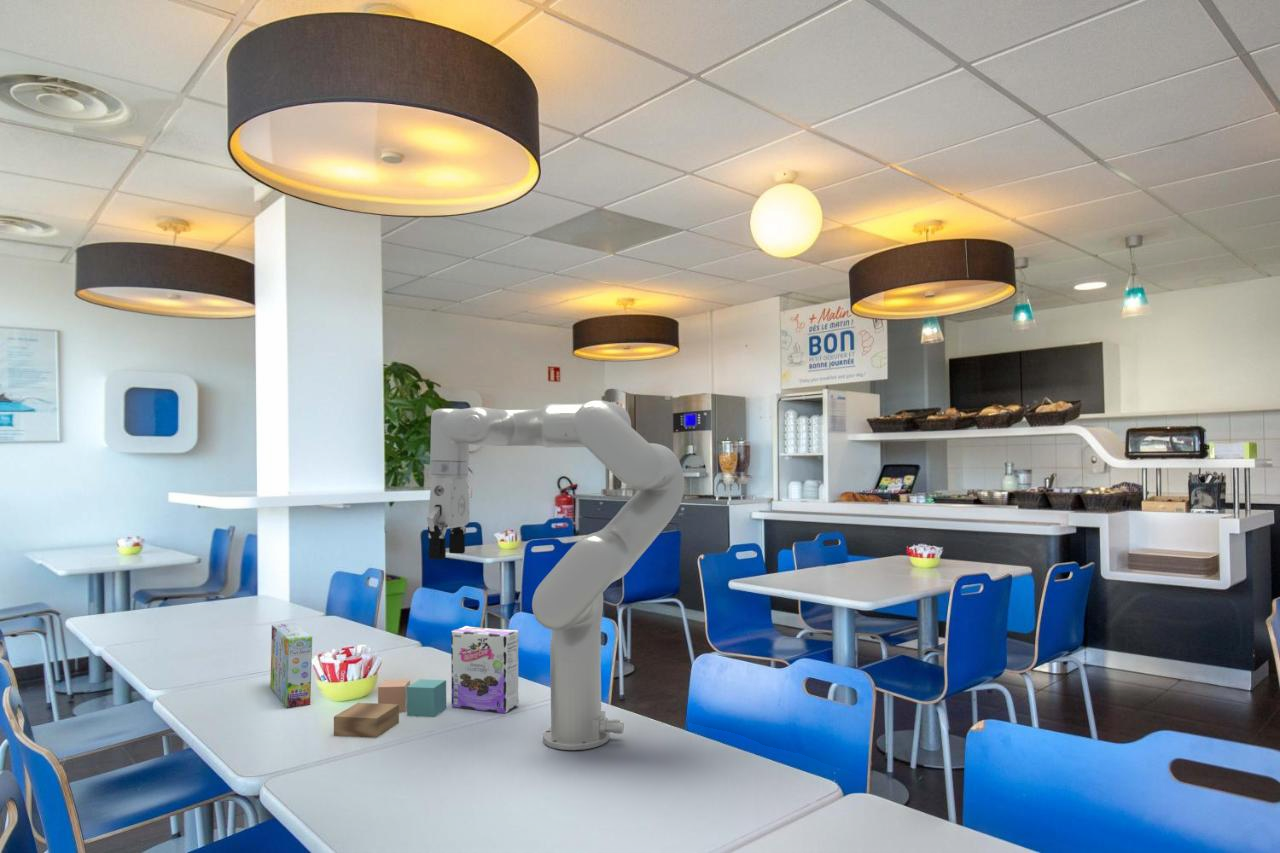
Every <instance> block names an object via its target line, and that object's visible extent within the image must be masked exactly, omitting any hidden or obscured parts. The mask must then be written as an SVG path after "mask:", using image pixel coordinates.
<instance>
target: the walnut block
mask: <svg viewBox="0 0 1280 853" xmlns="http://www.w3.org/2000/svg"><path fill="white" fill-rule="evenodd" d="M399 723H400V713H399V704H378V702H377V703H376V702H375V703H373V702H372V703H371V702H356V703H355V704H354V705H353V704H352V706H350V707H348V708H346V709H344V710H342V711H341V712H339V713H338V714H335V715H334V716H333V737H350V738H352V737H353V738H369V739H370V738H372V739H377V738H379V737H381V735H383V734H384V733H386V732H388V731H389V730H390V729H392V728H393V727H394V726H396V725H398V724H399Z"/></svg>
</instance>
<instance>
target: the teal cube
mask: <svg viewBox="0 0 1280 853" xmlns="http://www.w3.org/2000/svg"><path fill="white" fill-rule="evenodd" d="M446 709H447V680H446V679H428V678H427V679H425V678H423V679H422V678H420V679H418V680H416V681H415V682H413V683H412V684H411V683H410V686H408V687H407V710H406V711H407V712H406V716H408V717H409V716H410V717H425V718H426V717H429V718H430V717H431V718H434V717H437V715H439V714H440V713H442V712H443V711H445V710H446Z"/></svg>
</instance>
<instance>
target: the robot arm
mask: <svg viewBox="0 0 1280 853" xmlns="http://www.w3.org/2000/svg"><path fill="white" fill-rule="evenodd" d="M630 417H631V416H630V414H629V413H628V411H627V409H625V408H624V407H623V406H622V405H620V404H618V403H614V402H610V401H607V400H601V399H600V400H599V399H594V400H589V401H587V402H585V403H583V402H581V403H549V404H545V405H544V406H543V407H540V408H536V409H535V408H534V409H500V408H499V409H497V408H492V407H491V408H490V407H483V406H473V407H468V408H437V409H435V410H433V411H432V413H431V418H430V450H429V451H430V454H429V455H430V459H429V478H431V485H430V492H429V504H428V505H429V506H428V515H427V518H426V521H427V531H428V538H429V540H428V541H429V542H428V544H429V545H428V550H429V551H428V558H429V560H446V557H447V554H446V552H447V551H446V550H447V547H446V546H447V539H446V538H444V537H445V535H446V533H447V529H448V527H449V529H450V532H451V533H449V539H448V540H449V542H448V545H449V546H448V552H449V554H462V555H463V554H465V552H466V532H467V529H466V526H467V525H468V524H469V523H470V493H469V491H470V490H469V489H470V488H469V484H468V483H469V482H468V481H469V480H468V478H469V464H470V463H469V460H470V455H469V454H470V451H469V450H470V445H473V446H474V445H475V446H490V447H491V446H492V447H493V446H494V447H515V446H516V447H517V446H519V447H521V446H524V447H526V446H529V447H532V446H533V447H535V446H539V447H544V448H586V449H587V450H588V451H589V452H590V453H591V454H592V455H593V456H594V457H595V459H598V461H599V462H600V463H601V464H602V465H604V466H605V467H606V468H607V470H608V471H609V472H610V473H611V474H613V475H614V476H615V477H616V478H617V479H618V480H619V481H620V482H622V483H623V484H624V485H626V486H627V487H628V488H631V489H633V490H636V492H635V493H634V494H633V496H632V497H631V498H630V499H629V500H628V501H627V502H626V503H624V505H622V507H621V508H620V510H619V511H618V512H617V513H616V514H615V516H613V518H612V519H611V520H610V521H609V522H608V523H607V524H606V525H605V526H604V527H603V528H602V529H600V530H598V531H596V532H591V533H590V534H586V535H585V536H583V537H581V538H580V539H579V540H578V541H576V542H575V543H574V545H572V546H571V548H570V549H569V550H568V551H567V552H566V553H565V554H564V555H563V557H562V558H560V560H559V561H558V562H557V563H556V564H555V566H554V567H553V568H552V569H551V571H549V573H548V574H547V575H545V577H544V578H543V580H542V581H541V582H540V583H539V584H538V586H537V587H536V589H535V591H534V594H533V596H532V602H531V605H532V606H531V608H532V614H533V616H534V618H535V620H536V621H537V623H539V624H540V625H541V626H542V627H544V629H547V630H551V634H550V651H549V653H550V654H549V655H550V656H549V657H550V658H549V659H550V662H549V663H550V669H549V670H550V728H547V729H546V730H545V731H544V732H543V734H542V742H543V744H544V745H547V747H549V748H553V749H556V750H563V751H581V750H583V751H584V750H589V749H590V750H591V749H593V748H597V747H600V746H603V745H604V744H607V742H608V741H609V740H610V738H611V734H616V735H617V734H624V728H625V726H624V725H625V724H624V722H621V720H620V719H609V718H608V717H606V711H605V710H602V674H601V673H602V671H601V670H602V663H601V655H602V653H601V649H602V647H601V646H602V644H601V643H602V642H601V637H602V636H601V635H602V632H601V631H602V620H603V610H604V592H605V590H606V589H607V588H608V587H609V586H610V585H611V584H612V583H614V582H616V581H617V580H620V579H621V578H623V577H624V576H626V575H627V573H629V571H630V570H631V569H632V567H633V566H634V565H635V563H636V562H637V561H638V560H639V559H640V558H641V557H642V555H643V554H644V553H645V552H646V551H647V549H648V548H649V547H650V546H651V545H652V543H653V542H654V541H655V540H656V539H657V537H658V536H659V535H660V534H661V533H662V531H663V530H664V529H665V528H666V527H667V525H668V524H669V523H670V522H671V521H672V519H673V518H674V516H675V514H676V513H677V511H678V509H679V508H680V505H681V502H682V500H683V496H684V491H685V477H684V476H685V475H684V470H683V468H682V465H681V462H680V460H679V458H678V456H677V455H676V454H675V453H674V451H673V450H671V448H668V446H666V445H662V444H659V443H651V442H648V441H647V440H646V439H645V438H644V437H643V436H642V435H640V433H639V432H637V431H636V430H635V429H634V428H633V427H632V420H631V418H630Z"/></svg>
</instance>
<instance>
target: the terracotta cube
mask: <svg viewBox="0 0 1280 853" xmlns="http://www.w3.org/2000/svg"><path fill="white" fill-rule="evenodd" d="M410 685H411V679H387V680H386V679H384V680H383V681H382V682H381V683H380V685H379V686H377V690H378V691H377V704H399V714H401V713H406V711H407V687H408V686H410Z"/></svg>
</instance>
